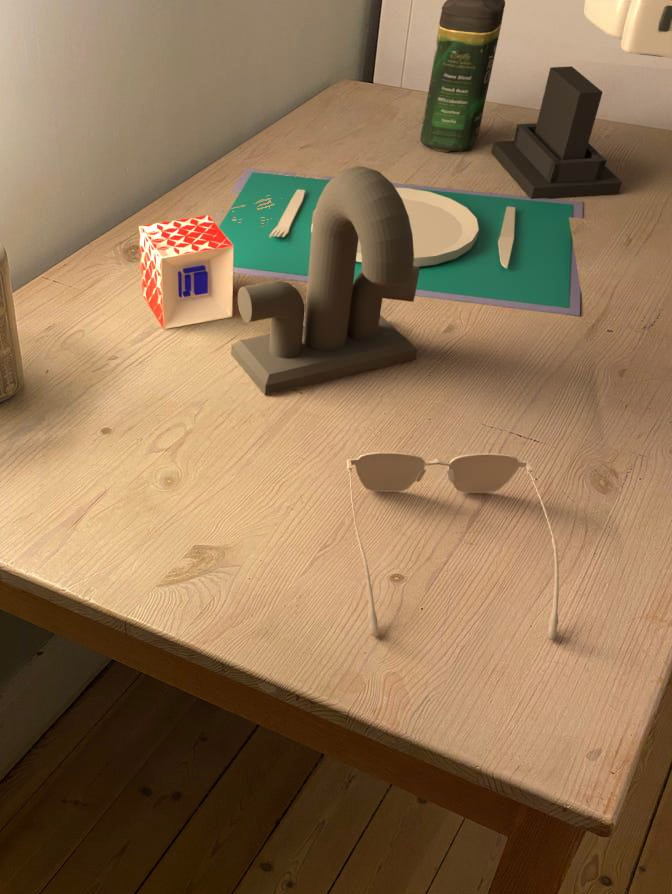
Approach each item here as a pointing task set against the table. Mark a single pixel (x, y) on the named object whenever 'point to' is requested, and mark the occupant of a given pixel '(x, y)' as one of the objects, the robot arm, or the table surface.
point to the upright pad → (567, 113)
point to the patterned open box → (186, 271)
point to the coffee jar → (461, 73)
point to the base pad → (553, 168)
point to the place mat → (424, 241)
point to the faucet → (336, 291)
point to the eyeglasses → (465, 476)
